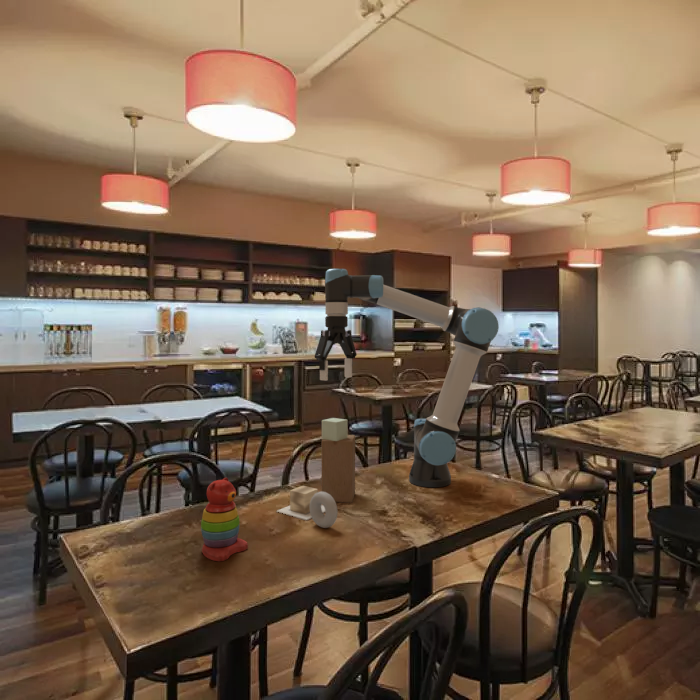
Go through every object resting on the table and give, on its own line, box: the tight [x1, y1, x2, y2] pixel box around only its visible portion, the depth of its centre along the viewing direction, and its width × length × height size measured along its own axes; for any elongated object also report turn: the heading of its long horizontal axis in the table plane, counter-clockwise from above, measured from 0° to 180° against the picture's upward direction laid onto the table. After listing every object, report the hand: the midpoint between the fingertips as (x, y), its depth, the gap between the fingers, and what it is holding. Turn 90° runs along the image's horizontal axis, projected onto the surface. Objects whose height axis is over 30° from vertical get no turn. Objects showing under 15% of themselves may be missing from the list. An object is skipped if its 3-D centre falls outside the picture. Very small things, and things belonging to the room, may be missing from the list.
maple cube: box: [289, 485, 319, 514], centre depth 159 cm, size 6×6×6 cm
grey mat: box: [276, 504, 326, 521], centre depth 160 cm, size 12×12×1 cm
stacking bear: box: [200, 477, 249, 562], centre depth 131 cm, size 11×10×18 cm
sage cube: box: [321, 417, 349, 441], centre depth 170 cm, size 6×6×6 cm
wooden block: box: [321, 434, 356, 504], centre depth 171 cm, size 10×10×20 cm
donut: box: [310, 490, 339, 529], centre depth 146 cm, size 10×4×10 cm, turn 46°
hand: (336, 378), depth 176 cm, fingers open, 13 cm apart
